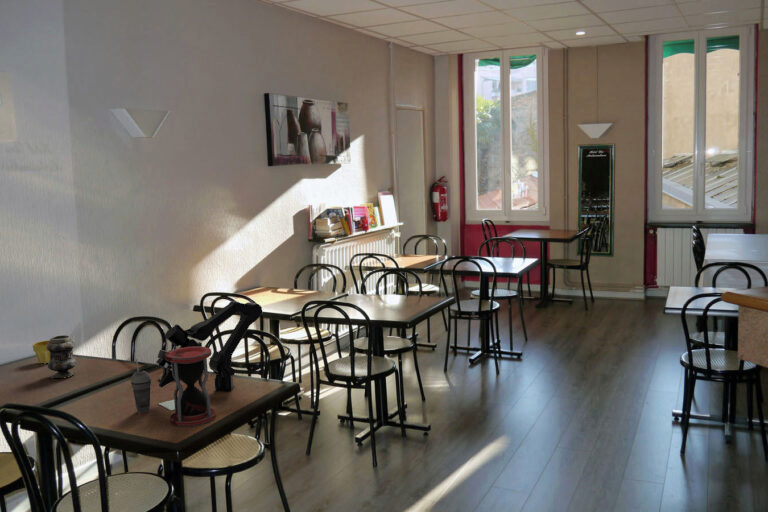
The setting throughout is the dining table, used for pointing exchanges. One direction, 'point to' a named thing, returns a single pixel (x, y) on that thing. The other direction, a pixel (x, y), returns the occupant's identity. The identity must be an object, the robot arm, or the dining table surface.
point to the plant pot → (42, 351)
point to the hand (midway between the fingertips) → (160, 386)
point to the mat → (168, 405)
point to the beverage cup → (141, 390)
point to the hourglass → (190, 386)
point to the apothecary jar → (61, 355)
